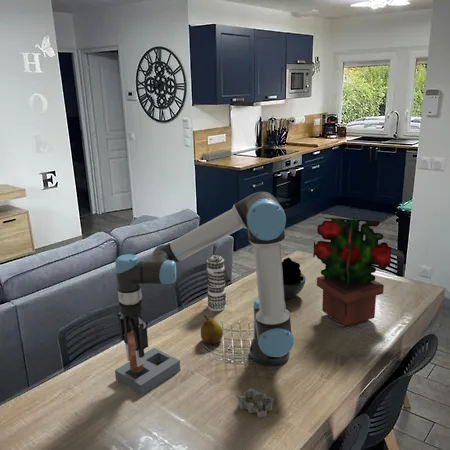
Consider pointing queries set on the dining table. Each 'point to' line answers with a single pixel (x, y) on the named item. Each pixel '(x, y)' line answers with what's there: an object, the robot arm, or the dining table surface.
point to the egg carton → (260, 401)
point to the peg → (133, 353)
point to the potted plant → (350, 269)
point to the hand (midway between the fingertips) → (136, 361)
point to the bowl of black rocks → (292, 278)
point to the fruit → (211, 331)
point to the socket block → (148, 371)
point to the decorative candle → (216, 283)
